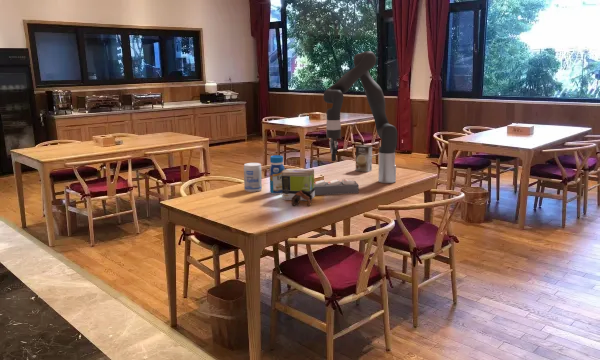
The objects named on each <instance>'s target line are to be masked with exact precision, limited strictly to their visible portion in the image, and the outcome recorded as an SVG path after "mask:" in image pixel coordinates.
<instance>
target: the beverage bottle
mask: <svg viewBox="0 0 600 360" xmlns="http://www.w3.org/2000/svg"><path fill="white" fill-rule="evenodd" d="M269 161H270V163H271V164H270V166H269V174H268V175H269V193H271V194H272V195H282V174H281V172H283V171H284V170H286V169H285V165H284V164H283V162H284V156H283V155H277V154H276V155H271V156H270V157H269Z"/></svg>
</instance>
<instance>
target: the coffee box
mask: <svg viewBox="0 0 600 360" xmlns="http://www.w3.org/2000/svg"><path fill="white" fill-rule="evenodd" d="M372 170H373V145H366V144H359V145H356V146H355V171H356V172H363V173H364V172H365V173H369V172H372Z"/></svg>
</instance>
